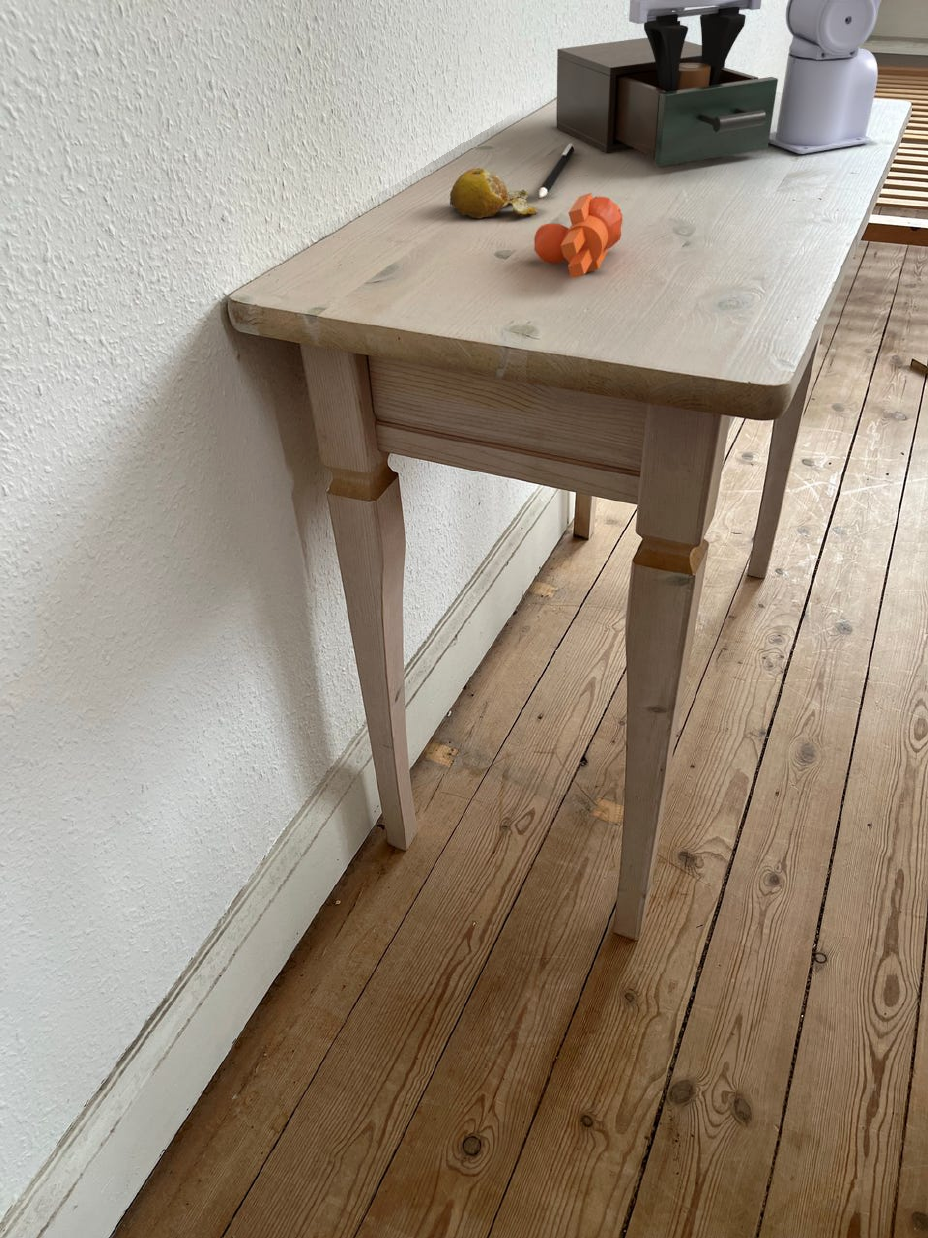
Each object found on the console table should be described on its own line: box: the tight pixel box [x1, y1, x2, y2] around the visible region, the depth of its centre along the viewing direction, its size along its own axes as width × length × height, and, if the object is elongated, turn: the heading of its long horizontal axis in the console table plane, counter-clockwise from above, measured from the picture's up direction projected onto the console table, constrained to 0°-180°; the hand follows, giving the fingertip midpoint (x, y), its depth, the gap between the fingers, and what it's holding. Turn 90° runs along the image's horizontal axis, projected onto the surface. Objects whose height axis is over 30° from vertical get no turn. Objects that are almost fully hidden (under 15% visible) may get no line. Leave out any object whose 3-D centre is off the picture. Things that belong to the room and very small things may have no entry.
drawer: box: [613, 67, 779, 168], centre depth 101 cm, size 17×13×7 cm
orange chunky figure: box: [533, 192, 624, 279], centre depth 80 cm, size 5×8×12 cm
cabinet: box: [555, 37, 726, 154], centre depth 111 cm, size 14×15×9 cm
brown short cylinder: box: [677, 63, 711, 90], centre depth 102 cm, size 4×4×4 cm
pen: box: [538, 143, 576, 199], centre depth 101 cm, size 1×19×1 cm, turn 165°
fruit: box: [449, 167, 538, 220], centre depth 92 cm, size 8×8×4 cm
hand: (687, 93), depth 102 cm, fingers closed on brown short cylinder, 4 cm apart
